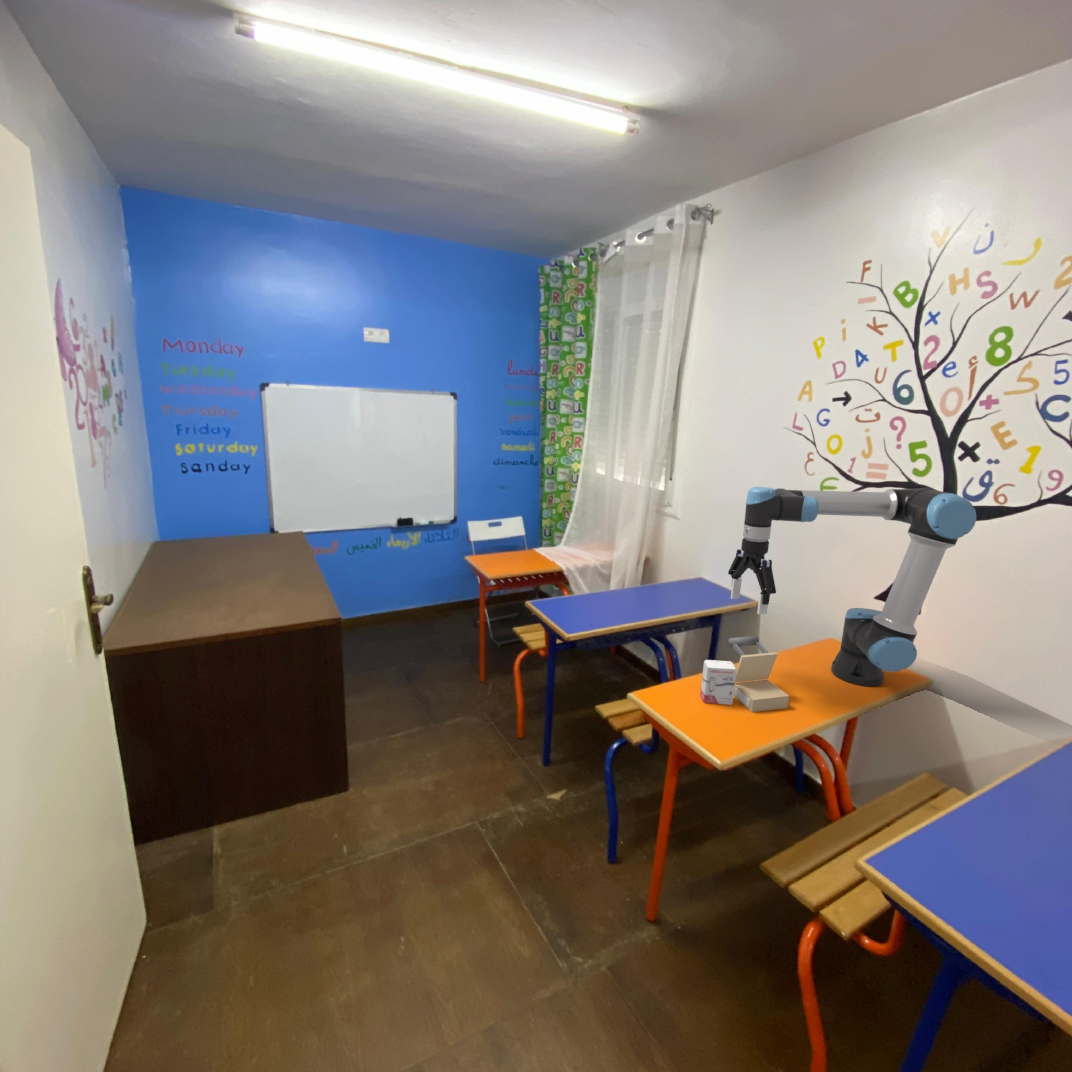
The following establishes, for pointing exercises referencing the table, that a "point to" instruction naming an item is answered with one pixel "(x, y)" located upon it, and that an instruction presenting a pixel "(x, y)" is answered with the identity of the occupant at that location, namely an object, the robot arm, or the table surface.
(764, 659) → the flap
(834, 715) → the table surface
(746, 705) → the carton
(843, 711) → the table surface
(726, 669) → the ink box
